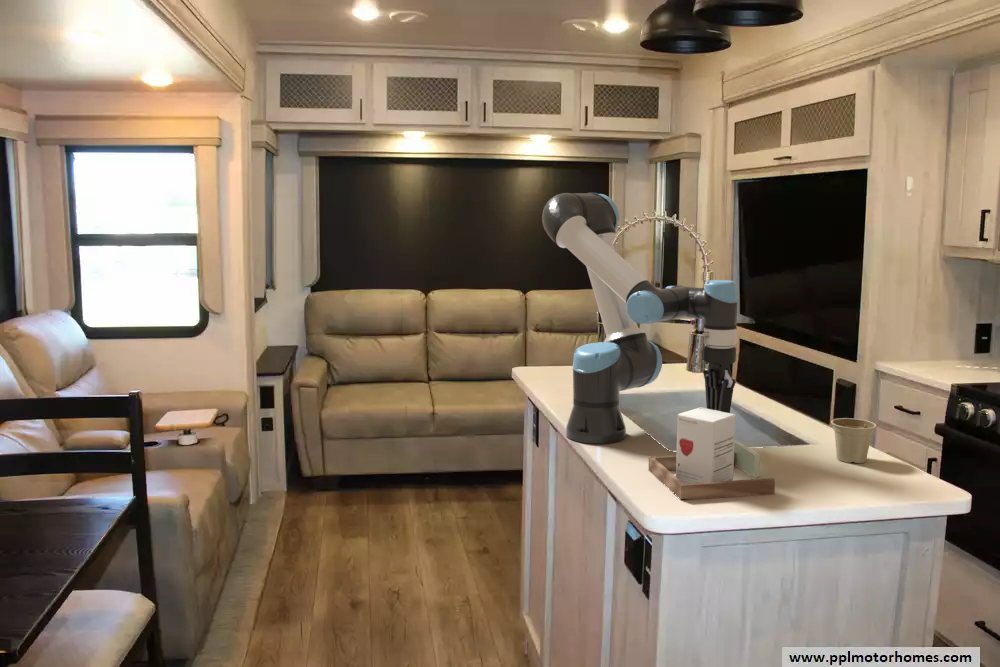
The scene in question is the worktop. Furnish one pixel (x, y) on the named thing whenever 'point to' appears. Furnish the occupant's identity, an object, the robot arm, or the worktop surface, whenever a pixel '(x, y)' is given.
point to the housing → (707, 489)
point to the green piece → (747, 459)
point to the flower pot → (852, 439)
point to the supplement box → (705, 446)
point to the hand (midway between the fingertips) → (717, 442)
